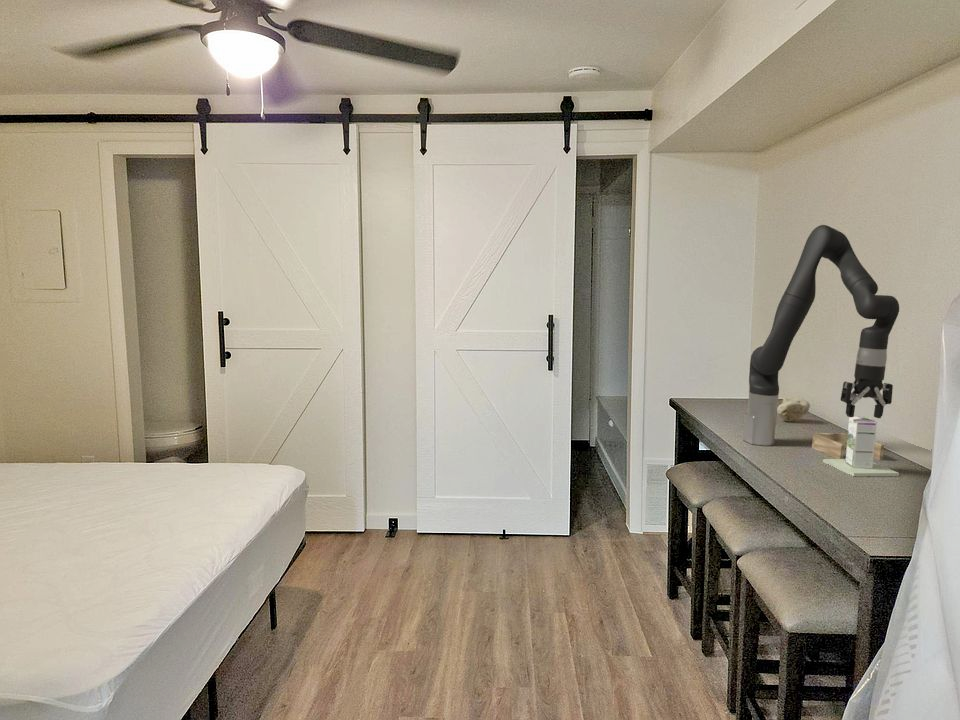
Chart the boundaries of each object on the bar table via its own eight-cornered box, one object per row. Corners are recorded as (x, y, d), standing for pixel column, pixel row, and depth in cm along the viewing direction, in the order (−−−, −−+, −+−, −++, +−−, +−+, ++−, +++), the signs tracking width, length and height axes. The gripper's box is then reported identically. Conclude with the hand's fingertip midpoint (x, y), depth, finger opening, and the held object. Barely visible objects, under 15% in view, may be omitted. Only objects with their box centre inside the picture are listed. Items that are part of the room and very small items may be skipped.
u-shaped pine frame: (839, 460, 201) (841, 444, 200) (811, 447, 215) (813, 433, 214) (882, 460, 202) (884, 444, 202) (851, 447, 216) (853, 433, 216)
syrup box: (873, 469, 189) (878, 421, 187) (851, 467, 190) (857, 420, 188) (864, 463, 195) (869, 416, 193) (843, 462, 195) (848, 415, 193)
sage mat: (853, 476, 185) (853, 473, 184) (823, 462, 198) (823, 459, 198) (898, 476, 186) (898, 472, 186) (865, 461, 200) (865, 458, 200)
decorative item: (803, 420, 256) (805, 395, 255) (811, 425, 248) (814, 400, 246) (771, 418, 258) (773, 394, 256) (778, 423, 249) (781, 398, 248)
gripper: (856, 364, 183) (849, 419, 185) (903, 366, 184) (895, 420, 186) (839, 360, 190) (833, 413, 193) (884, 362, 192) (877, 415, 194)
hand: (863, 417), depth 189 cm, fingers open, 8 cm apart
